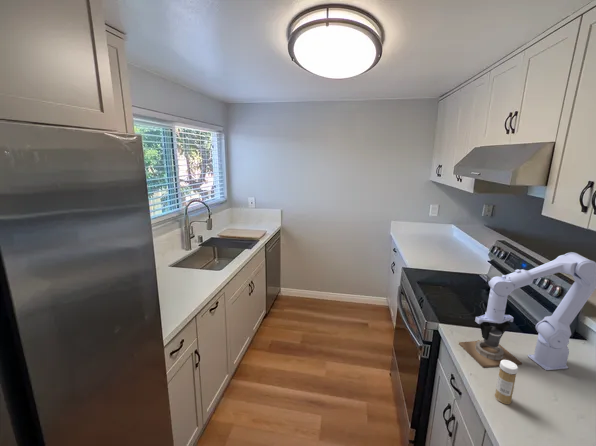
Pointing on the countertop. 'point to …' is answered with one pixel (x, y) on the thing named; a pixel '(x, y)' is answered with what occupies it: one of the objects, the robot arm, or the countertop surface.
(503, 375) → the sprinkles bottle
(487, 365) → the mount board
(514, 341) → the countertop surface
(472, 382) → the countertop surface
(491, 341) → the lens
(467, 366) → the countertop surface
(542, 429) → the countertop surface
